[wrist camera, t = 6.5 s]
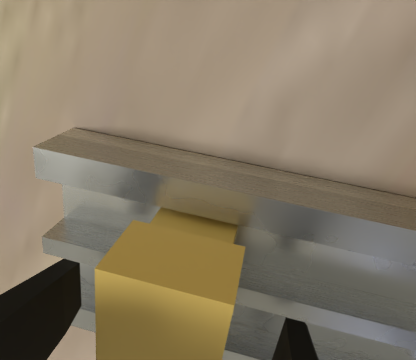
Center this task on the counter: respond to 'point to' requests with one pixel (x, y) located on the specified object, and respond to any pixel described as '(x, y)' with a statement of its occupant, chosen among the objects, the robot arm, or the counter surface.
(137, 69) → the counter surface
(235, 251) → the yellow block with ridge
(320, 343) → the rail
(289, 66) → the counter surface
